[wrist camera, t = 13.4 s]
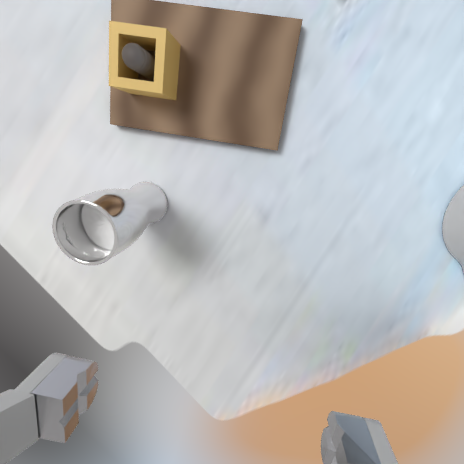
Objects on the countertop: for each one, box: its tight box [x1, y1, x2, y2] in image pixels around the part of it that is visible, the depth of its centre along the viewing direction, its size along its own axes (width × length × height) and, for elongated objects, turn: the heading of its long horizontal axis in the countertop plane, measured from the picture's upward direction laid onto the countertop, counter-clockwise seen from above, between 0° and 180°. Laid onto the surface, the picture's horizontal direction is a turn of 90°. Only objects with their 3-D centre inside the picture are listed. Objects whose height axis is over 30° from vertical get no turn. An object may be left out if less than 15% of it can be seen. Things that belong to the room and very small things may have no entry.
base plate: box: [110, 0, 303, 150], centre depth 31 cm, size 22×14×8 cm, turn 82°
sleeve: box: [109, 21, 181, 100], centre depth 31 cm, size 6×6×5 cm
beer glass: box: [52, 182, 168, 265], centre depth 34 cm, size 7×7×15 cm
